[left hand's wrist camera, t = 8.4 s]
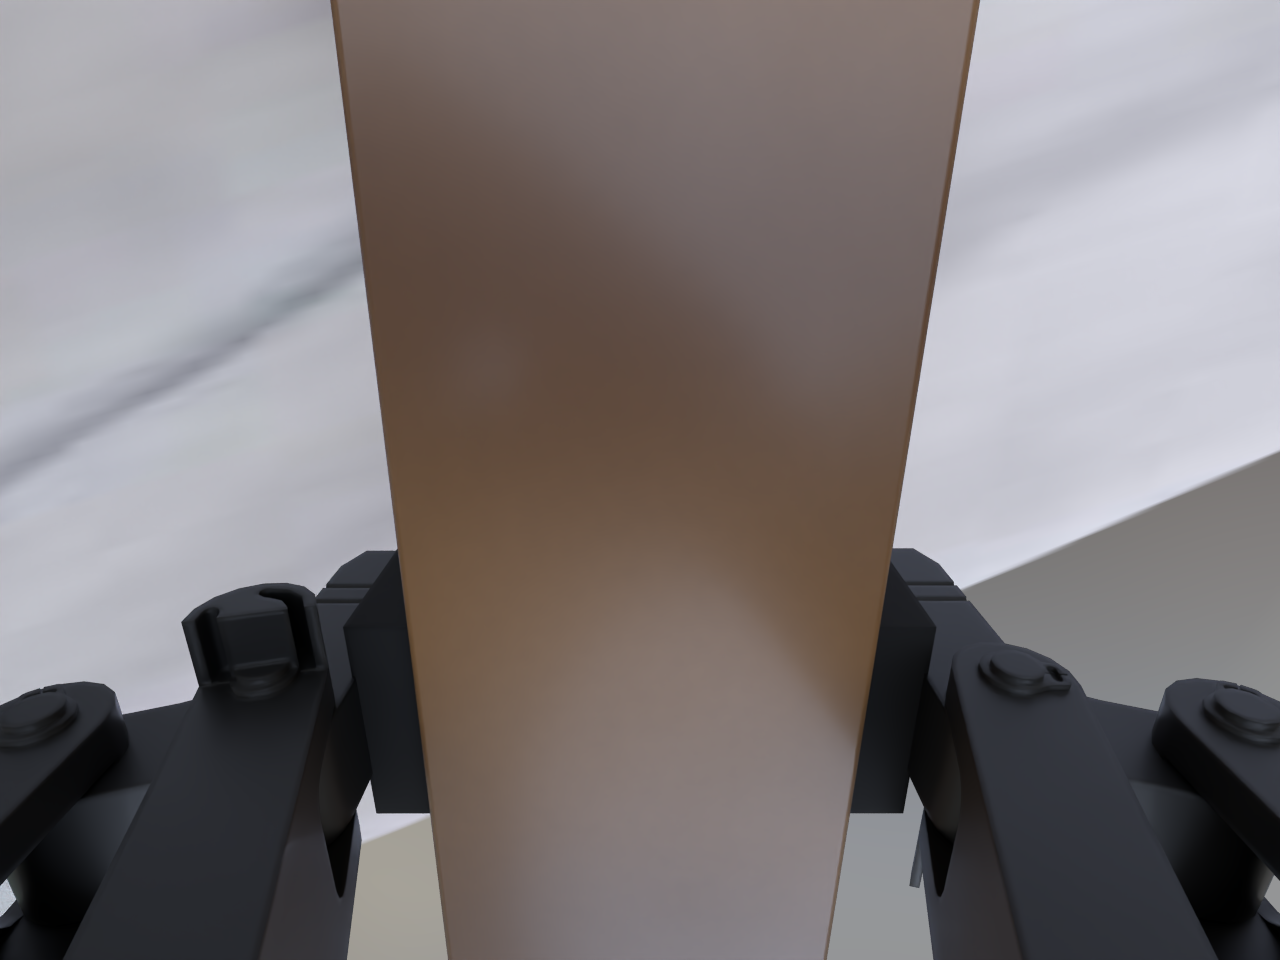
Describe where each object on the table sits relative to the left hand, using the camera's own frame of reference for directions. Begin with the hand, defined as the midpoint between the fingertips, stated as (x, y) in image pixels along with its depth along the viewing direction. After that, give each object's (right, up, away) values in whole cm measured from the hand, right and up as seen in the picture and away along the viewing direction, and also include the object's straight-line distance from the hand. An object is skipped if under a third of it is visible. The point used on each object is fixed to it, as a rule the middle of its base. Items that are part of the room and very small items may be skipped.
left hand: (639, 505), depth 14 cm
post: (0, +22, -8) cm, 24 cm away
